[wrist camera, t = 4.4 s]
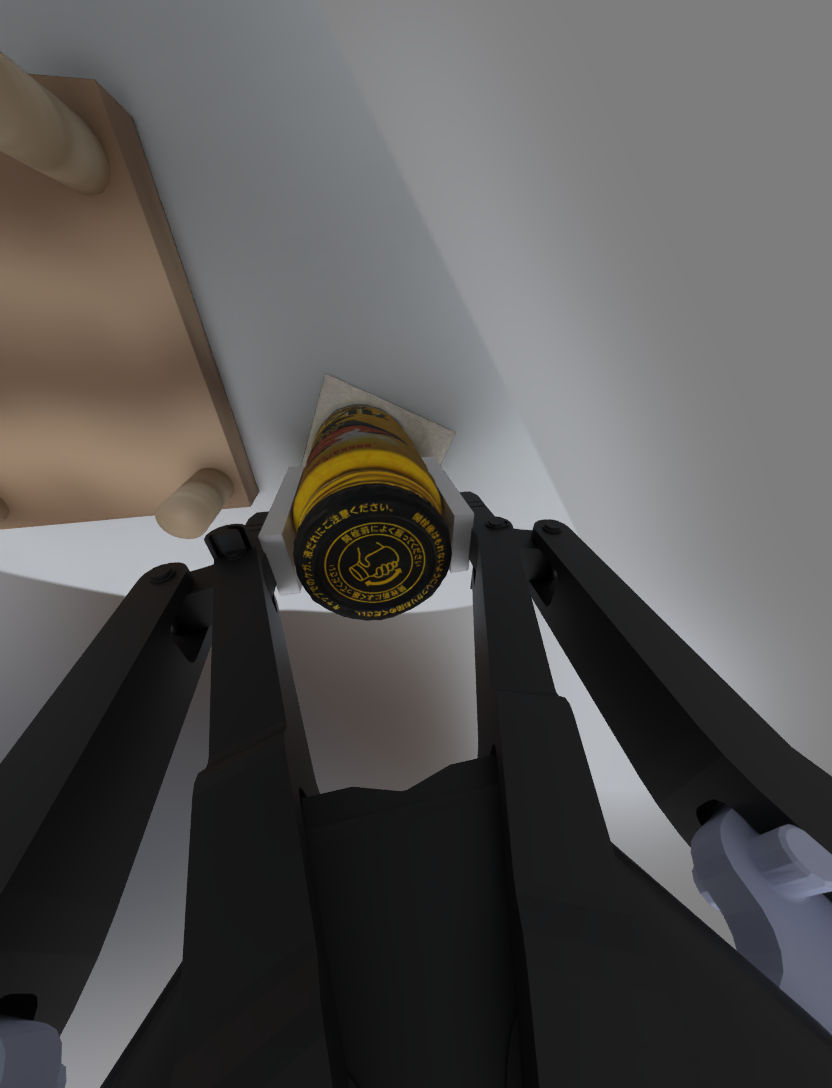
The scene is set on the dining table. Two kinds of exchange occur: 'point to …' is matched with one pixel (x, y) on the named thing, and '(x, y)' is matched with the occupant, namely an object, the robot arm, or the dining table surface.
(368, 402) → the condiment
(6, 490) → the peg holder
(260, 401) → the dining table surface
